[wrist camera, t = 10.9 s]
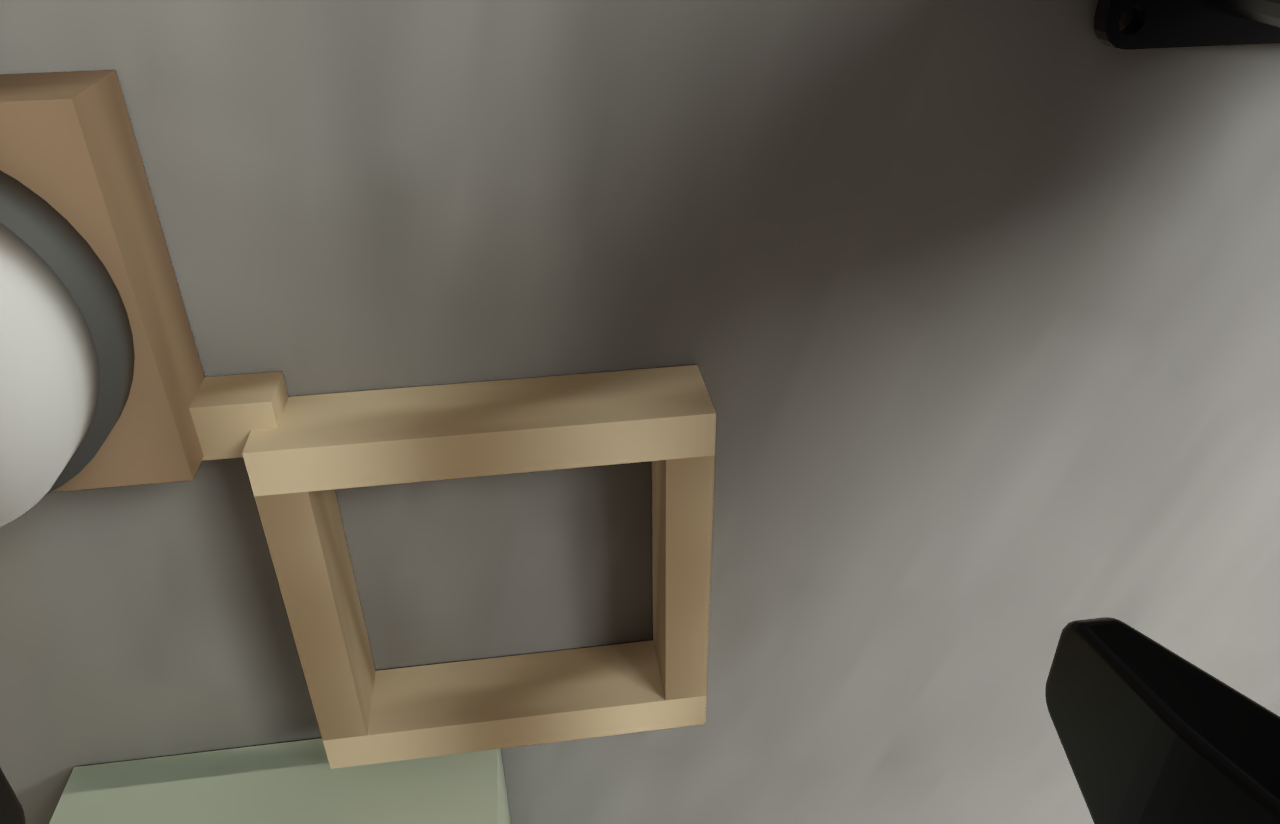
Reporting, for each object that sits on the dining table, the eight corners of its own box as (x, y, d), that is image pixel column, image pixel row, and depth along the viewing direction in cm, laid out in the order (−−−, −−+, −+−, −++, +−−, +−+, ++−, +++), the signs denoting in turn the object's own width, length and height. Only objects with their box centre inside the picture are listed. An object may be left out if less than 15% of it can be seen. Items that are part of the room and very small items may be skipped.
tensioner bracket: (703, 45, 17) (758, 100, 14) (690, 663, 25) (722, 793, 22) (-348, 88, 15) (-587, 164, 12) (6, 741, 23) (-76, 896, 20)
